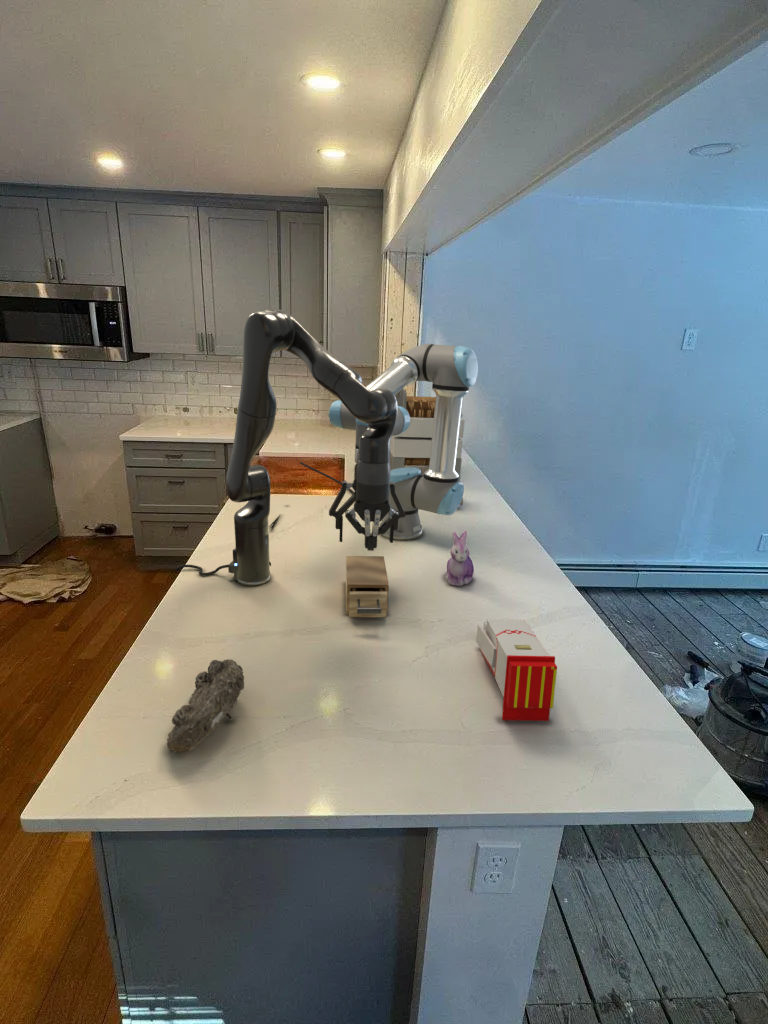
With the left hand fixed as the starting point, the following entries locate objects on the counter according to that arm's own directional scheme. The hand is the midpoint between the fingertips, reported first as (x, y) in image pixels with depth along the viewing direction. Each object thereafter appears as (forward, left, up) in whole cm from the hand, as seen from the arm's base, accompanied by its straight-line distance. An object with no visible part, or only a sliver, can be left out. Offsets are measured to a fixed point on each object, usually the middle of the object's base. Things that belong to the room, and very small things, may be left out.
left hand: (370, 549), depth 134 cm
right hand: (-6, +18, -6) cm, 19 cm away
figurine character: (+5, +101, -21) cm, 104 cm away
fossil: (-18, -41, -21) cm, 50 cm away
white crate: (-18, +143, -21) cm, 145 cm away
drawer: (-3, +8, -20) cm, 22 cm away
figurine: (+18, +34, -21) cm, 44 cm away
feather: (-53, +61, -21) cm, 84 cm away
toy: (+35, -10, -21) cm, 42 cm away
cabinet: (-5, +14, -21) cm, 26 cm away
